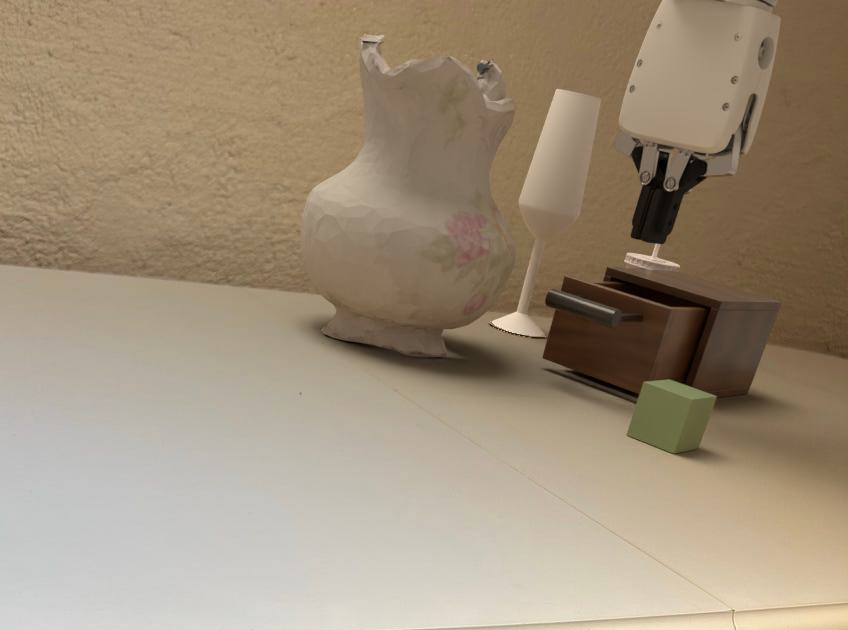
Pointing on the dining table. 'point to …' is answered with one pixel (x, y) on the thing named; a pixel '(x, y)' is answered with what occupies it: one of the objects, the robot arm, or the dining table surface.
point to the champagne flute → (554, 187)
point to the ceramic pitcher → (414, 207)
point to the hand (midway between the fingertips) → (647, 240)
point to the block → (671, 415)
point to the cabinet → (715, 327)
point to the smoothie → (650, 261)
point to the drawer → (623, 332)
